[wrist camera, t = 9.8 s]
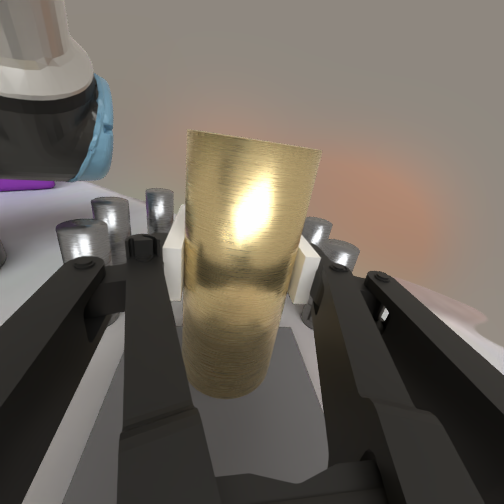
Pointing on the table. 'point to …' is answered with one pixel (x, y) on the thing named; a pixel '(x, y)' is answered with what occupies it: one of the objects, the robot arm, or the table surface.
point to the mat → (225, 429)
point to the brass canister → (239, 254)
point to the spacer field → (161, 220)
